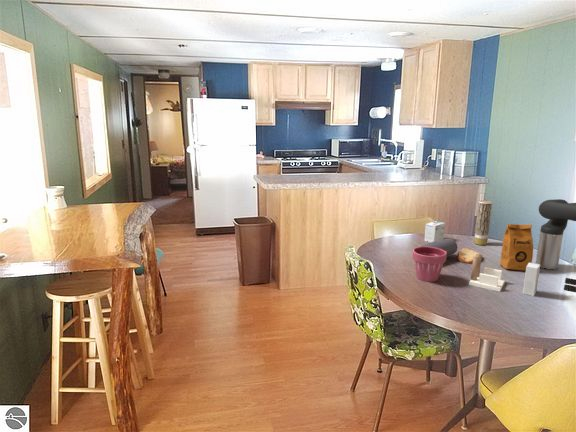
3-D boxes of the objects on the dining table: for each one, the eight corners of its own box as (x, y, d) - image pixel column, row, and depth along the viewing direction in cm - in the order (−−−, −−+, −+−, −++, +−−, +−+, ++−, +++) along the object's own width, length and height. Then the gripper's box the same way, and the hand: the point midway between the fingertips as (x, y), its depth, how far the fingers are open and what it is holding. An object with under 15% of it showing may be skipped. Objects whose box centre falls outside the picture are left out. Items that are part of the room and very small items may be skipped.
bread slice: (467, 251, 221) (468, 244, 220) (494, 261, 204) (495, 254, 203) (441, 254, 215) (441, 247, 214) (466, 265, 198) (467, 258, 197)
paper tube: (471, 242, 235) (476, 200, 229) (480, 241, 237) (485, 200, 231) (480, 246, 228) (485, 203, 223) (489, 245, 230) (494, 202, 225)
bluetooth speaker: (431, 267, 195) (433, 247, 193) (415, 261, 202) (416, 242, 200) (457, 258, 208) (459, 239, 206) (441, 253, 215) (443, 235, 213)
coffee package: (533, 273, 187) (539, 227, 182) (504, 271, 190) (510, 226, 185) (525, 265, 197) (531, 222, 192) (497, 264, 199) (503, 221, 194)
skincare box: (524, 289, 169) (528, 262, 166) (536, 291, 166) (540, 264, 164) (522, 293, 164) (526, 266, 162) (534, 296, 162) (538, 268, 159)
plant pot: (422, 285, 172) (424, 257, 169) (404, 274, 185) (406, 247, 182) (451, 282, 176) (453, 254, 173) (431, 271, 189) (434, 245, 186)
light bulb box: (433, 237, 245) (435, 220, 243) (443, 240, 240) (445, 222, 238) (423, 240, 239) (425, 223, 236) (434, 243, 234) (435, 225, 231)
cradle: (474, 276, 183) (477, 252, 180) (504, 282, 176) (508, 257, 173) (468, 284, 173) (471, 259, 171) (499, 291, 166) (503, 265, 164)
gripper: (618, 278, 153) (566, 269, 162) (620, 290, 141) (565, 280, 151) (614, 296, 154) (564, 287, 164) (616, 310, 143) (562, 298, 152)
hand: (564, 283), depth 157 cm, fingers open, 8 cm apart
